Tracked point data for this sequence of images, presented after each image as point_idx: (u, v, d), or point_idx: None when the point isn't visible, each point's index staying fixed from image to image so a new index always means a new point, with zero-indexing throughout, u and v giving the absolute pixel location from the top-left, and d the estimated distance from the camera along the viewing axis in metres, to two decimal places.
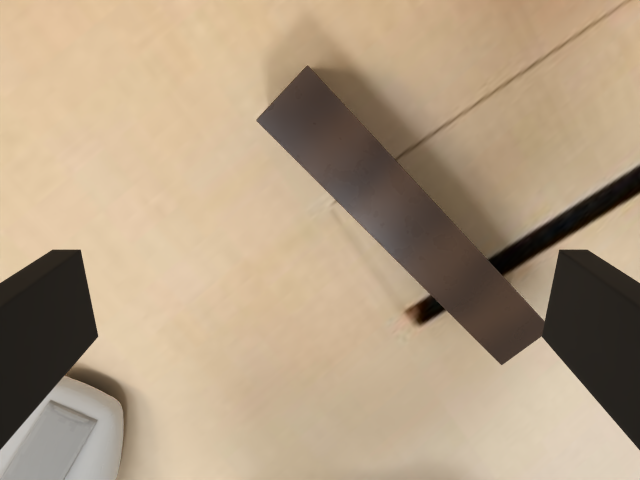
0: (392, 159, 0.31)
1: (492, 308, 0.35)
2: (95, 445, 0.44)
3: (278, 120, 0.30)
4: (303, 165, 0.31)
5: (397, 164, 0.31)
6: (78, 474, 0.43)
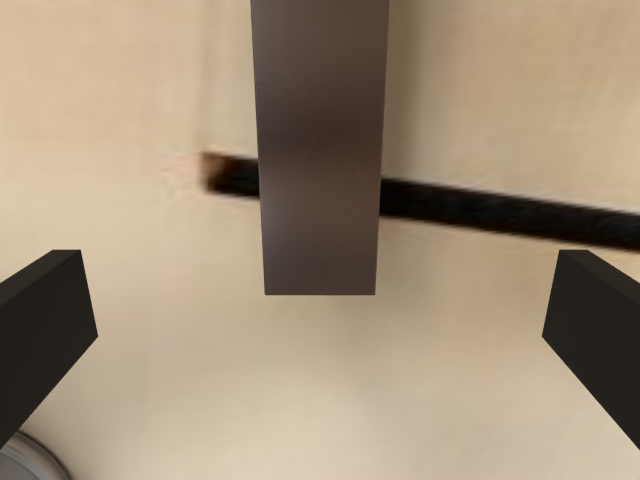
0: None
1: (324, 188, 0.18)
2: None
3: None
4: None
5: None
6: None
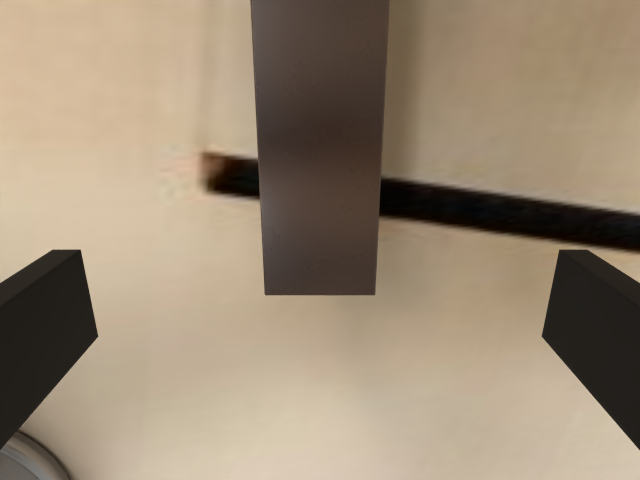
0: None
1: (324, 188, 0.18)
2: None
3: None
4: None
5: None
6: None
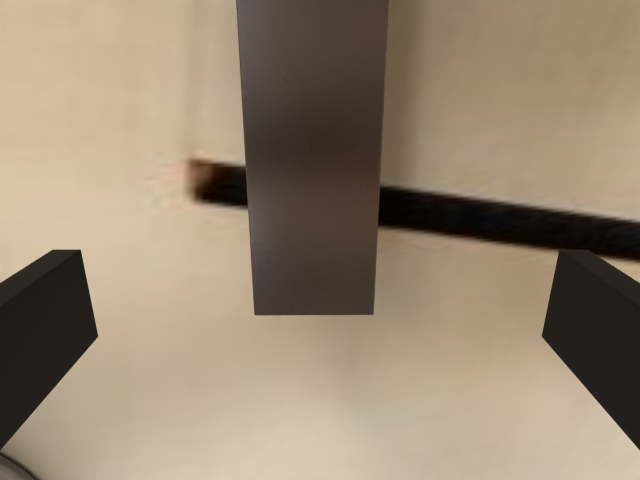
0: None
1: (318, 201, 0.17)
2: None
3: None
4: None
5: None
6: None
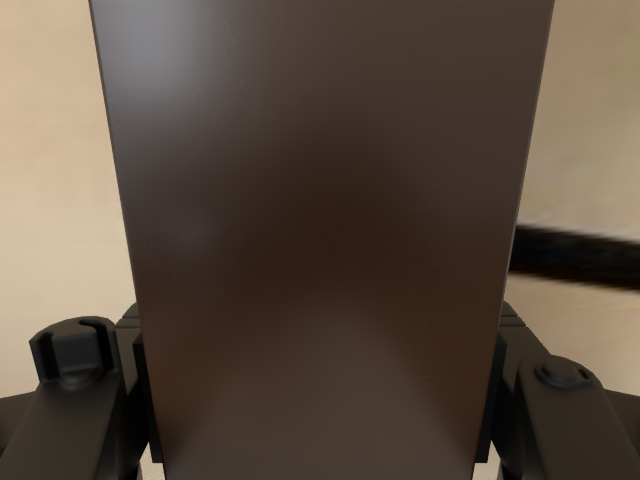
0: None
1: (332, 382, 0.06)
2: None
3: None
4: None
5: None
6: None
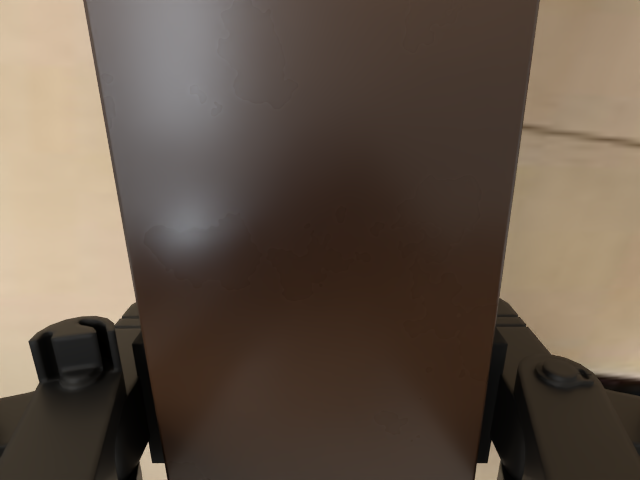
0: None
1: (333, 374, 0.06)
2: None
3: None
4: None
5: None
6: None
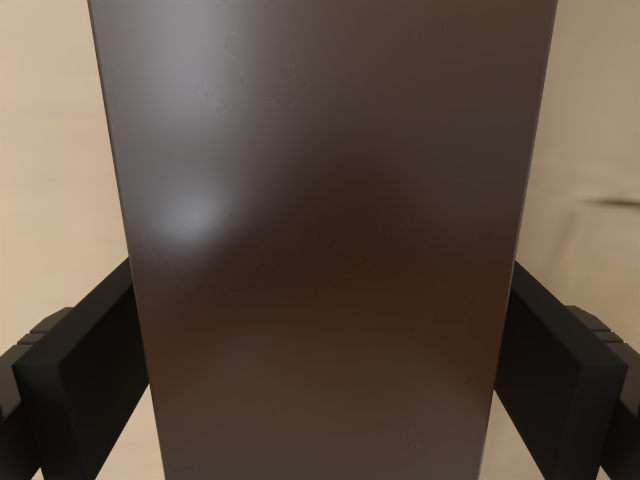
0: None
1: (335, 378, 0.06)
2: None
3: None
4: None
5: None
6: None
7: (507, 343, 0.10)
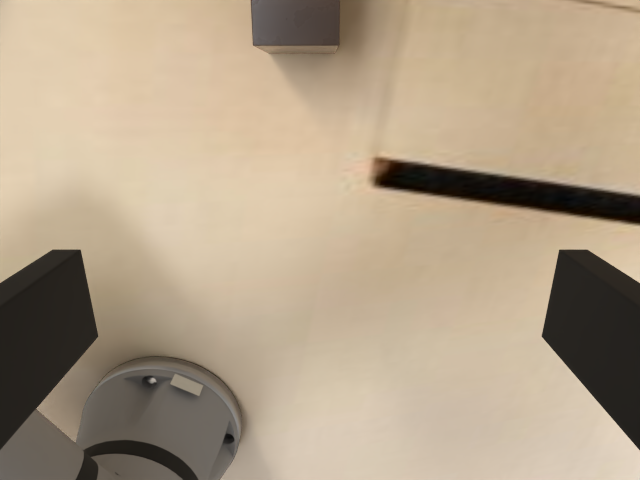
0: None
1: None
2: None
3: None
4: None
5: None
6: None
7: None
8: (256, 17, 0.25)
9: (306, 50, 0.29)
